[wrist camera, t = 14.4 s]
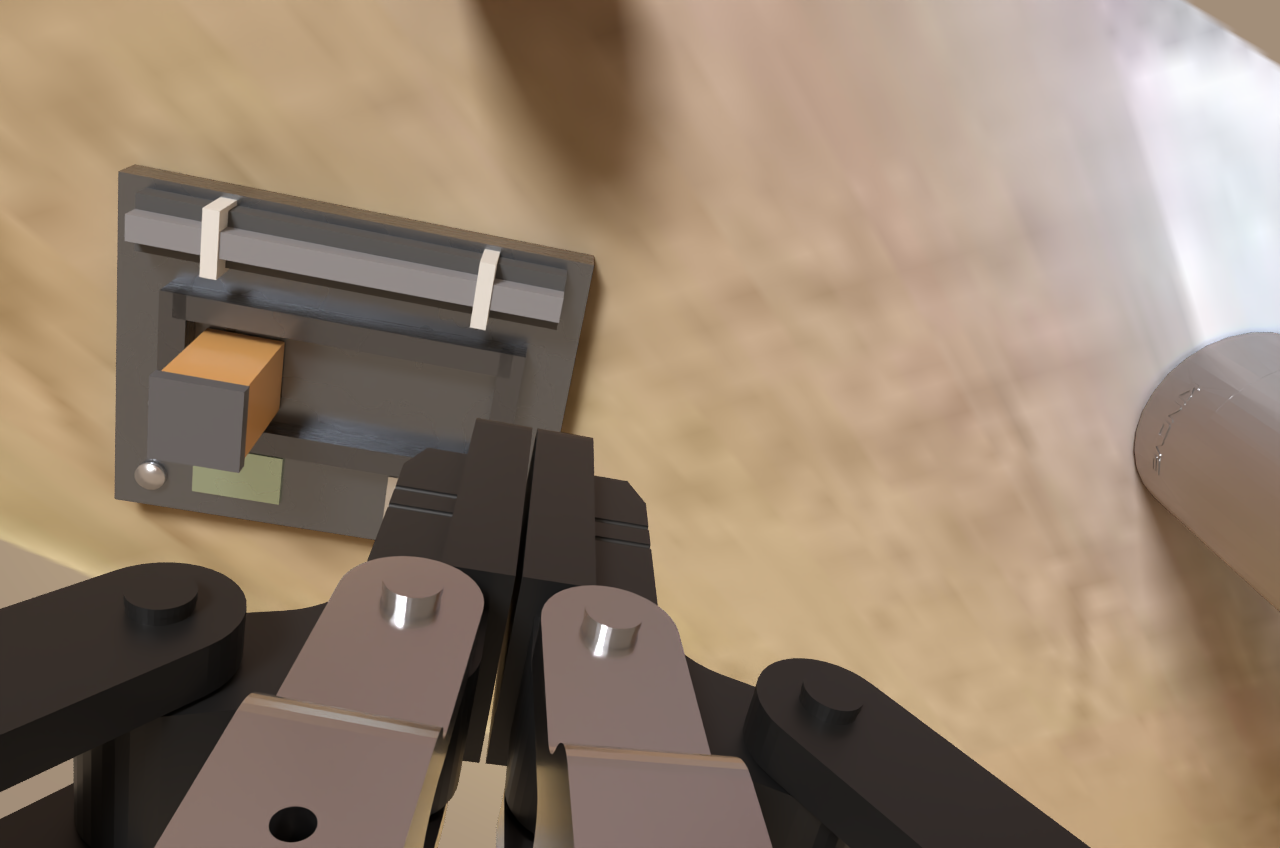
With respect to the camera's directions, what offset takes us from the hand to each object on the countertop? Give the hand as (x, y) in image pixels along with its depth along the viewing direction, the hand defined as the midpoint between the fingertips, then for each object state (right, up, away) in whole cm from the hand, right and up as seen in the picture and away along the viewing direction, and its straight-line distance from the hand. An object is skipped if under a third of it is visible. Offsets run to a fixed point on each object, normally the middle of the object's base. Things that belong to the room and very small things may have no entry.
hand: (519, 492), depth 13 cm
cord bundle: (-9, +7, +26) cm, 29 cm away
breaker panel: (-11, +3, +30) cm, 32 cm away
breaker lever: (-14, +3, +28) cm, 32 cm away
